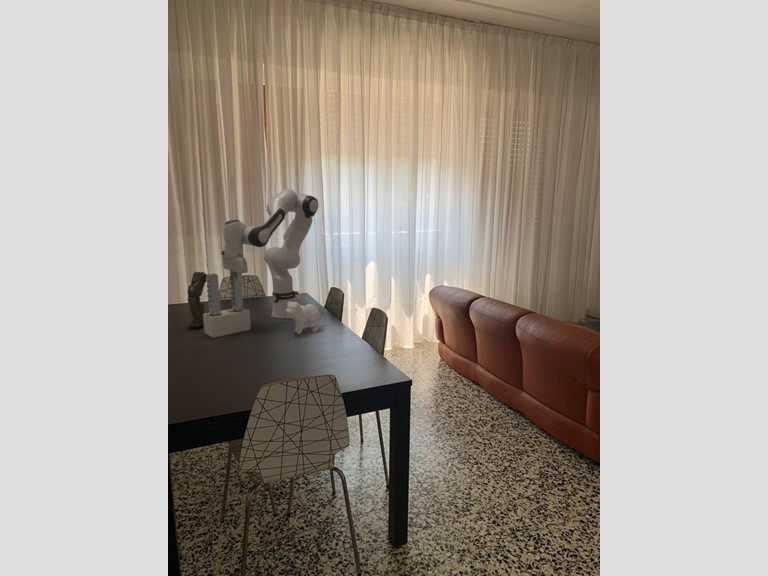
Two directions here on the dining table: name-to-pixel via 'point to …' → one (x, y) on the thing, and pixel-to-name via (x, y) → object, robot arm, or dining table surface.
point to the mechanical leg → (196, 299)
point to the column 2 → (236, 293)
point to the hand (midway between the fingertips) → (236, 279)
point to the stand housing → (226, 323)
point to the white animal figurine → (303, 315)
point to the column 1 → (213, 295)
